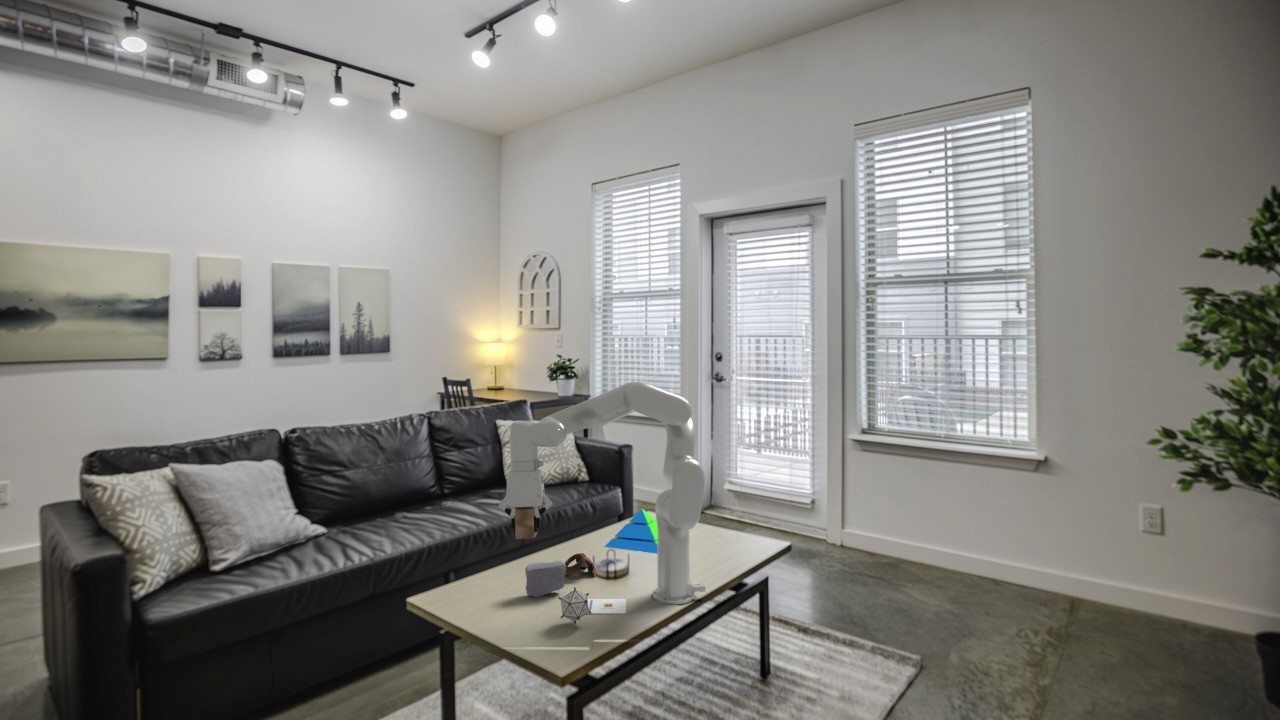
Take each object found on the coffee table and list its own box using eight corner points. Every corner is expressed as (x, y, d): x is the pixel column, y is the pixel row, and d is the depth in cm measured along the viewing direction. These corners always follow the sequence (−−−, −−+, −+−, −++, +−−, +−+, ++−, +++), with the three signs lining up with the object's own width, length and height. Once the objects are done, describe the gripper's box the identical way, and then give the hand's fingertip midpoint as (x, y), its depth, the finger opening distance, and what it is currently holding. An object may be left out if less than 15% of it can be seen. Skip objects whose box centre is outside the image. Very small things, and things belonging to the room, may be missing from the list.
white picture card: (626, 599, 183) (626, 598, 183) (625, 614, 173) (625, 612, 173) (585, 600, 183) (585, 598, 183) (582, 614, 173) (582, 612, 173)
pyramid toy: (598, 552, 229) (598, 513, 229) (622, 534, 253) (622, 499, 253) (663, 559, 221) (663, 519, 221) (682, 540, 244) (682, 503, 244)
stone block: (526, 601, 182) (525, 567, 182) (524, 595, 186) (524, 562, 186) (566, 597, 185) (566, 563, 185) (564, 591, 189) (564, 558, 189)
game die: (551, 626, 165) (551, 588, 165) (572, 614, 172) (572, 578, 172) (577, 634, 160) (577, 595, 160) (598, 622, 167) (597, 585, 167)
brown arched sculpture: (598, 582, 197) (586, 561, 196) (571, 594, 198) (559, 574, 196) (598, 561, 209) (587, 541, 207) (573, 573, 210) (561, 554, 208)
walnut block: (536, 533, 176) (536, 504, 176) (533, 538, 171) (533, 509, 171) (519, 533, 176) (518, 505, 176) (515, 539, 171) (514, 509, 171)
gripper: (557, 462, 177) (558, 526, 177) (496, 464, 177) (498, 528, 177) (553, 467, 170) (555, 534, 170) (490, 469, 170) (492, 536, 170)
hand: (526, 530), depth 174 cm, fingers closed on walnut block, 5 cm apart
